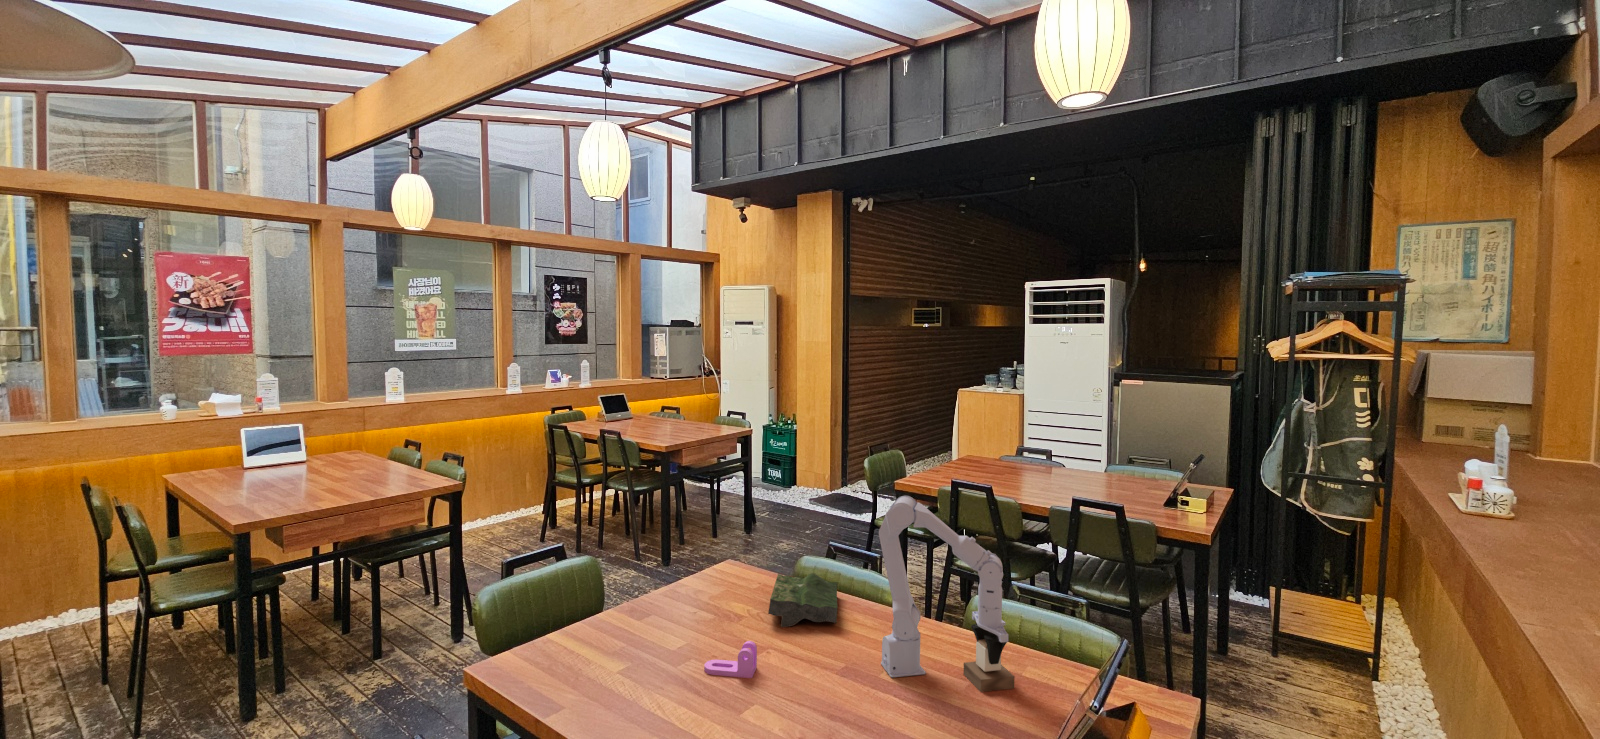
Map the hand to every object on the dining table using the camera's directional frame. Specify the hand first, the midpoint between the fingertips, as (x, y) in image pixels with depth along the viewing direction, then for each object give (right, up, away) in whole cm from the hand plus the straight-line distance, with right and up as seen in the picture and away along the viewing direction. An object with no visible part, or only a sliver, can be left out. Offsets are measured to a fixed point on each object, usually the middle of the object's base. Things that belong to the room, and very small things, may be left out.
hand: (988, 658), depth 164 cm
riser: (0, -6, 0) cm, 6 cm away
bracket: (-65, -5, +4) cm, 66 cm away
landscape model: (-46, -5, +44) cm, 64 cm away
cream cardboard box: (0, -2, 0) cm, 2 cm away
